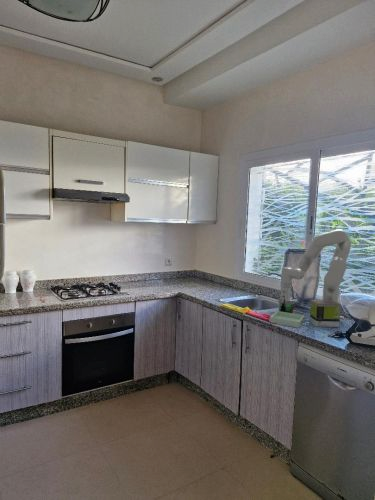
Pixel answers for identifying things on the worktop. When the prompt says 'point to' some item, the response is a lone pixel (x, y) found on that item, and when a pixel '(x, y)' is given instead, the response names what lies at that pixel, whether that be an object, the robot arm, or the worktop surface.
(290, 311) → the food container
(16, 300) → the worktop surface
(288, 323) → the sorting tray
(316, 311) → the tea box
